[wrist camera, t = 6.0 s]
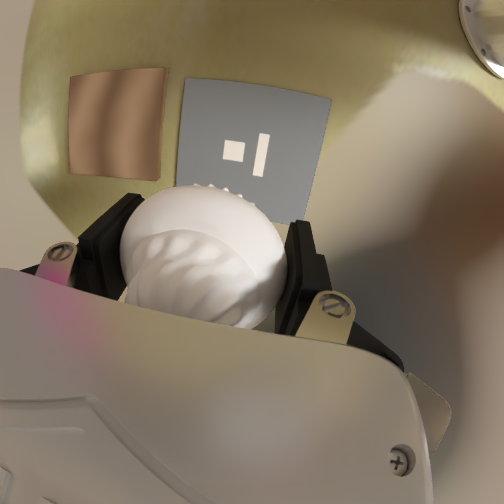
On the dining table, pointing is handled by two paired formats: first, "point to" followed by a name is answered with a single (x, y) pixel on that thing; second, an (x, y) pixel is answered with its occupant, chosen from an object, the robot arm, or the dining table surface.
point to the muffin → (203, 257)
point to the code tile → (252, 143)
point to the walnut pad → (117, 123)
